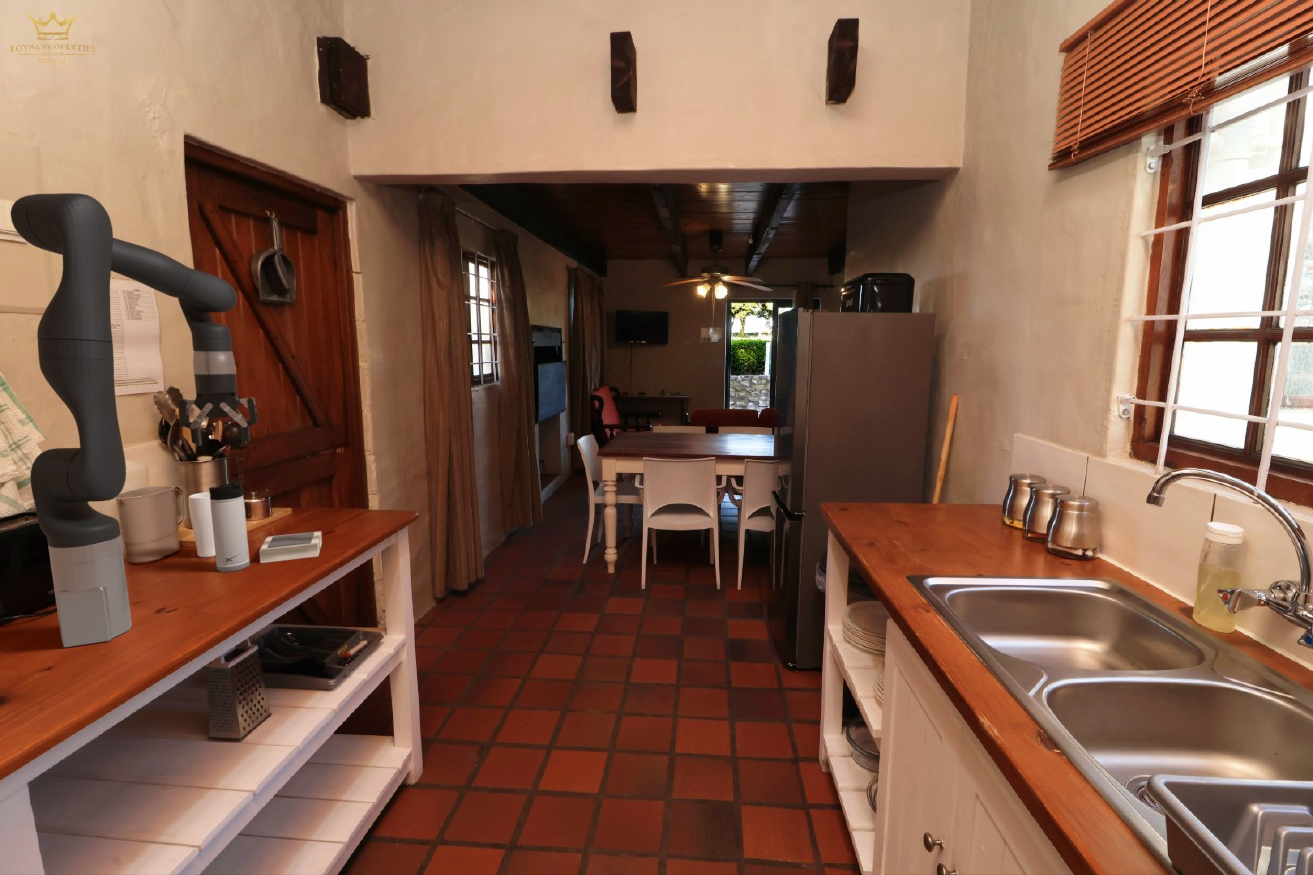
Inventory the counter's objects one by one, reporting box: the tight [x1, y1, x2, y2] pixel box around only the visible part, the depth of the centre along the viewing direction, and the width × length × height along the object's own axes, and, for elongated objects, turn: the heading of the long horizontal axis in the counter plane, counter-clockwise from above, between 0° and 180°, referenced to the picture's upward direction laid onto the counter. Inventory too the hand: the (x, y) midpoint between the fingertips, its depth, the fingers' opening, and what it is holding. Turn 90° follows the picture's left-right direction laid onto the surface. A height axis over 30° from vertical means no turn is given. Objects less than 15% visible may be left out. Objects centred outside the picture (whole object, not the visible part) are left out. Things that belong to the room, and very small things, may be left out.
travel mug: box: [208, 481, 251, 573], centre depth 140 cm, size 6×7×20 cm
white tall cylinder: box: [187, 491, 216, 558], centre depth 149 cm, size 7×7×15 cm
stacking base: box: [258, 530, 323, 564], centre depth 152 cm, size 12×12×3 cm
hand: (222, 444), depth 137 cm, fingers open, 8 cm apart
